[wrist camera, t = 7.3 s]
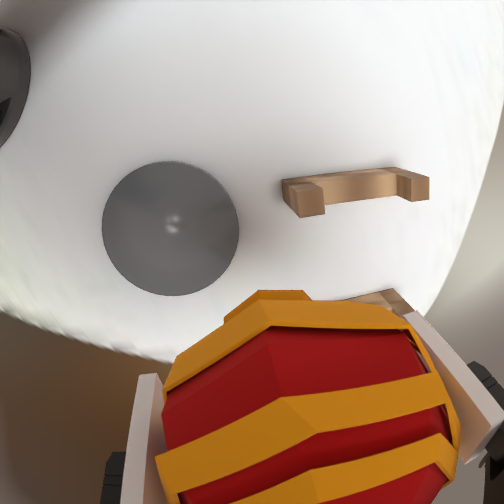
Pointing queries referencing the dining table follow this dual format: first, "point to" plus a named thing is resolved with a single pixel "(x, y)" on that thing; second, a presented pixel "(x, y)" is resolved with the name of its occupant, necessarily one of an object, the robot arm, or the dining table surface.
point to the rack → (353, 189)
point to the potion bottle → (307, 409)
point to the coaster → (170, 228)
